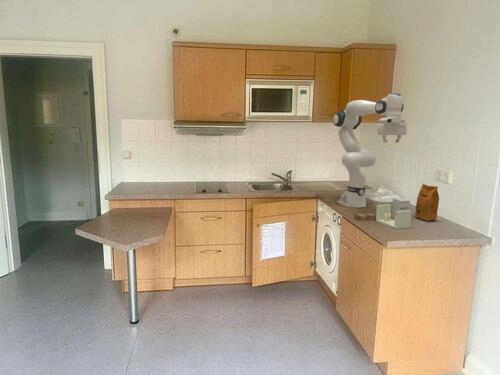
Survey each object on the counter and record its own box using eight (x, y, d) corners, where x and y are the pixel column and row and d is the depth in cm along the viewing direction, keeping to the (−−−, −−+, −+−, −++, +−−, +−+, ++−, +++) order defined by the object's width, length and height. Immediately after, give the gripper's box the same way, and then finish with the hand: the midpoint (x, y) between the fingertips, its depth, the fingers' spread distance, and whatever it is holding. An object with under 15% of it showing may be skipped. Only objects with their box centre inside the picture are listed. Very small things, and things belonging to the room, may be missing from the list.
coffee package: (423, 215, 236) (427, 183, 232) (439, 220, 225) (443, 186, 221) (411, 216, 233) (415, 183, 229) (427, 221, 221) (431, 186, 217)
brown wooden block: (358, 221, 219) (358, 216, 218) (354, 219, 224) (354, 214, 223) (377, 220, 223) (378, 215, 222) (372, 218, 227) (373, 213, 227)
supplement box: (398, 220, 223) (400, 200, 221) (390, 217, 230) (392, 198, 228) (408, 219, 225) (410, 200, 223) (400, 216, 232) (402, 197, 230)
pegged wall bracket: (375, 220, 221) (376, 205, 219) (388, 219, 224) (389, 204, 223) (396, 228, 204) (398, 211, 203) (410, 227, 208) (411, 210, 206)
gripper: (402, 120, 227) (400, 142, 229) (376, 119, 220) (374, 142, 222) (410, 120, 221) (408, 142, 223) (383, 119, 214) (381, 142, 216)
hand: (391, 142), depth 223 cm, fingers open, 8 cm apart
